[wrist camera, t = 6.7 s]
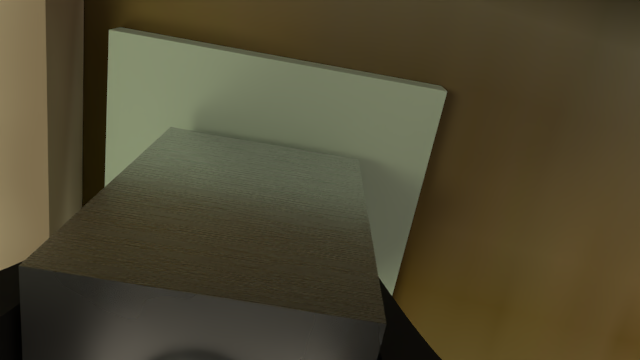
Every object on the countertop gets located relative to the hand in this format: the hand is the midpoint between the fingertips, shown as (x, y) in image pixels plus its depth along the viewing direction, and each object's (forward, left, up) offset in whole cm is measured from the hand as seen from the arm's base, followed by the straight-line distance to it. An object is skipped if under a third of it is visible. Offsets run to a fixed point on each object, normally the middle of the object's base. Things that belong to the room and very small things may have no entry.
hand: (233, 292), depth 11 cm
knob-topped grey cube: (0, 0, -3) cm, 3 cm away
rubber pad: (0, 0, -5) cm, 5 cm away
